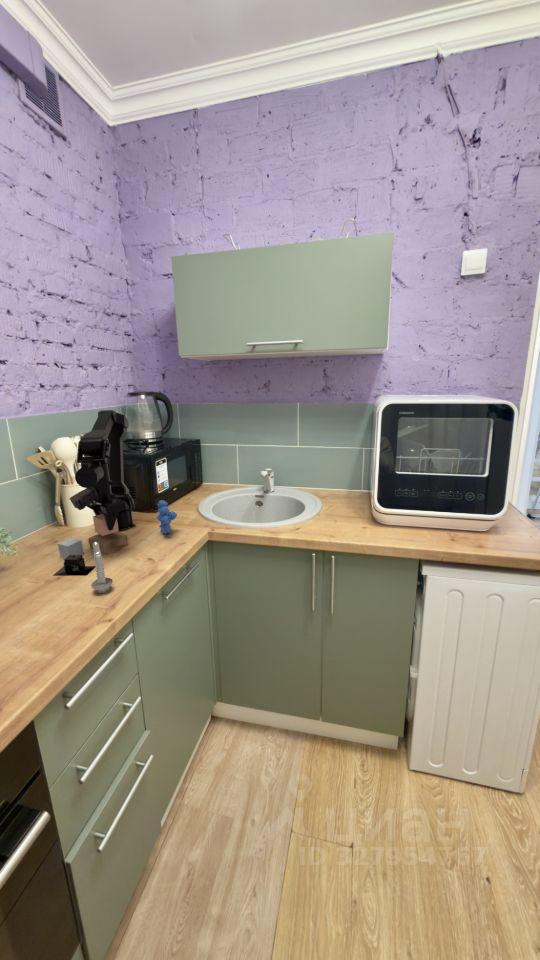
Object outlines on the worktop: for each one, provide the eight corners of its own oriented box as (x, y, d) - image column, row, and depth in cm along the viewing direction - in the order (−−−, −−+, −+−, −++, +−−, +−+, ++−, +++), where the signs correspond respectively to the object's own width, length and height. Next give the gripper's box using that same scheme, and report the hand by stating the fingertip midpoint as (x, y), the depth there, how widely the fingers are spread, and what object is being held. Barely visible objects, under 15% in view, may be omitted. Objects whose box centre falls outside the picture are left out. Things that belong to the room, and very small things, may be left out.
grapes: (181, 537, 128) (178, 502, 124) (160, 541, 125) (155, 505, 122) (176, 525, 138) (173, 492, 135) (156, 528, 136) (152, 495, 133)
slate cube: (74, 551, 120) (71, 537, 119) (83, 554, 118) (81, 540, 117) (60, 557, 117) (57, 543, 116) (70, 560, 115) (67, 546, 113)
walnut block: (113, 540, 128) (111, 529, 127) (128, 546, 123) (127, 534, 122) (90, 550, 122) (88, 537, 121) (105, 556, 117) (103, 543, 116)
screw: (112, 594, 96) (90, 597, 95) (114, 584, 100) (94, 587, 99) (104, 544, 92) (82, 547, 91) (107, 536, 97) (86, 539, 96)
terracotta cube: (111, 526, 125) (108, 511, 123) (118, 530, 121) (116, 515, 120) (95, 531, 121) (92, 516, 120) (102, 535, 118) (100, 520, 116)
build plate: (104, 566, 111) (101, 551, 110) (90, 580, 104) (88, 563, 103) (61, 566, 112) (58, 551, 111) (45, 579, 105) (42, 563, 104)
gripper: (58, 479, 117) (67, 528, 122) (84, 490, 105) (93, 544, 109) (95, 472, 125) (102, 518, 129) (124, 481, 113) (131, 532, 117)
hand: (106, 528), depth 121 cm, fingers closed on terracotta cube, 5 cm apart
